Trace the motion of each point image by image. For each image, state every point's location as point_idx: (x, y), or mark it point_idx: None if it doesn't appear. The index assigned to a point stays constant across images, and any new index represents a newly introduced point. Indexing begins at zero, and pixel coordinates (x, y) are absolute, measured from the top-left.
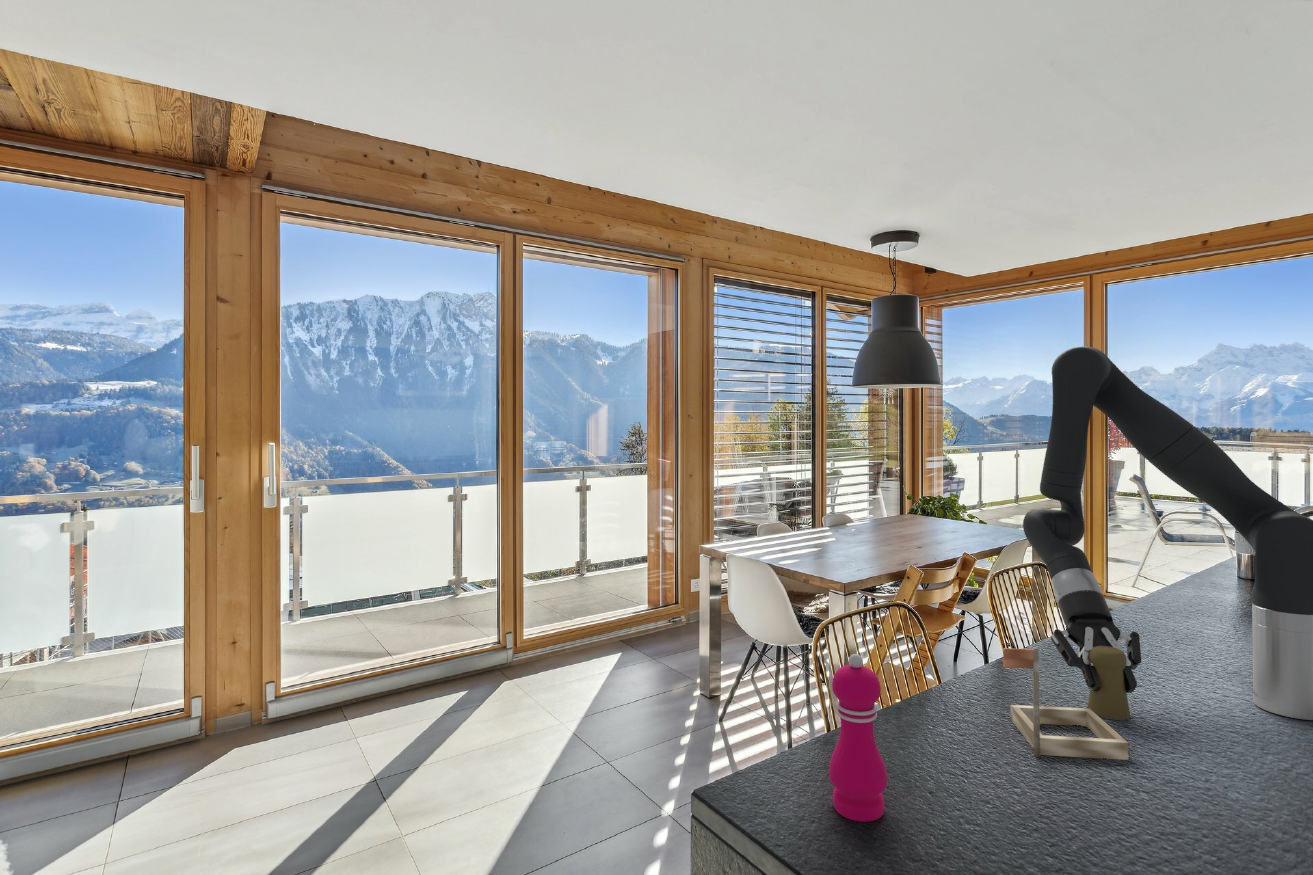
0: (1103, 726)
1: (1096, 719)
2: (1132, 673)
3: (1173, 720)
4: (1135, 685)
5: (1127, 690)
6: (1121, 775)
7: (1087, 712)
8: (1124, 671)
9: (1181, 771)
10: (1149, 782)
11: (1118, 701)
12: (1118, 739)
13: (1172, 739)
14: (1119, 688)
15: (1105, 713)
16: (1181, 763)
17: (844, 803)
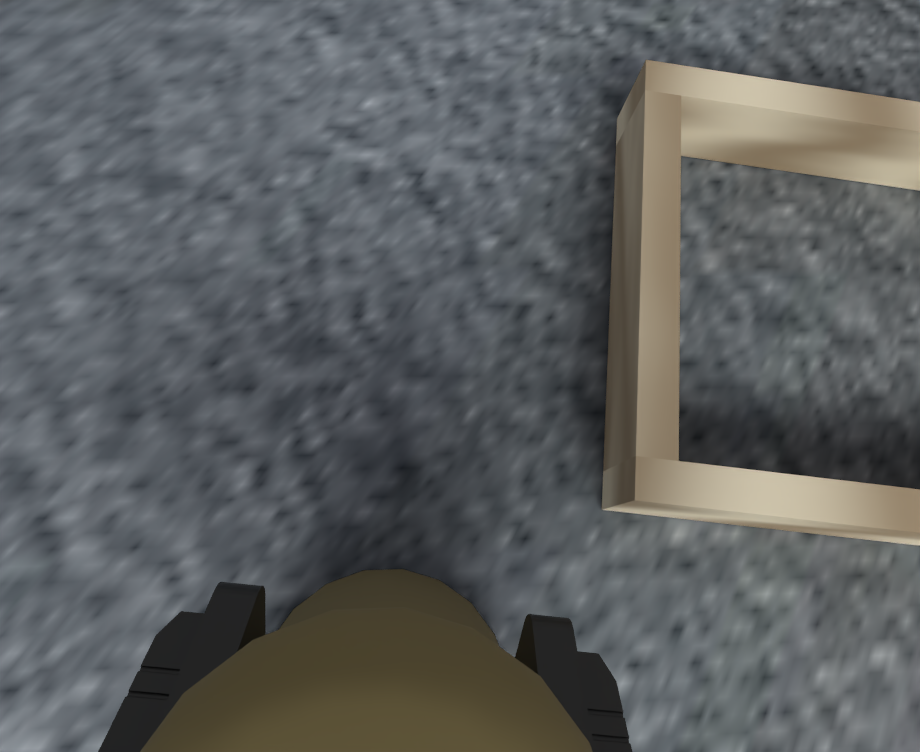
0: (677, 235)
1: (670, 330)
2: (113, 740)
3: (18, 577)
4: (191, 616)
5: None
6: (712, 13)
7: (677, 436)
8: None
9: (447, 27)
10: None
11: (379, 588)
12: (673, 95)
13: (249, 311)
14: (356, 607)
15: (462, 600)
16: (396, 85)
17: None
